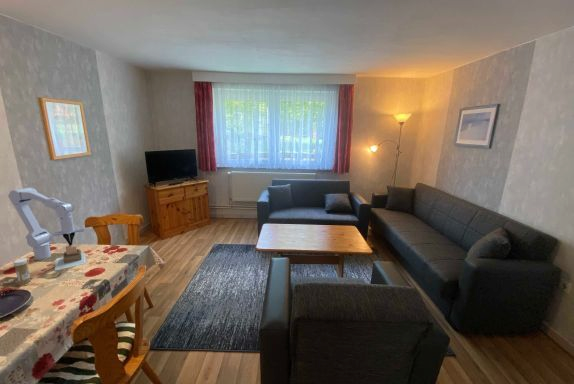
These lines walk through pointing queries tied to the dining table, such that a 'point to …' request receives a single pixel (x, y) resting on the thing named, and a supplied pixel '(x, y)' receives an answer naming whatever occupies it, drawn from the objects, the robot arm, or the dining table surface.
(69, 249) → the terracotta block
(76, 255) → the frame
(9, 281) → the dining table surface
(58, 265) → the board
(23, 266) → the spice jar
